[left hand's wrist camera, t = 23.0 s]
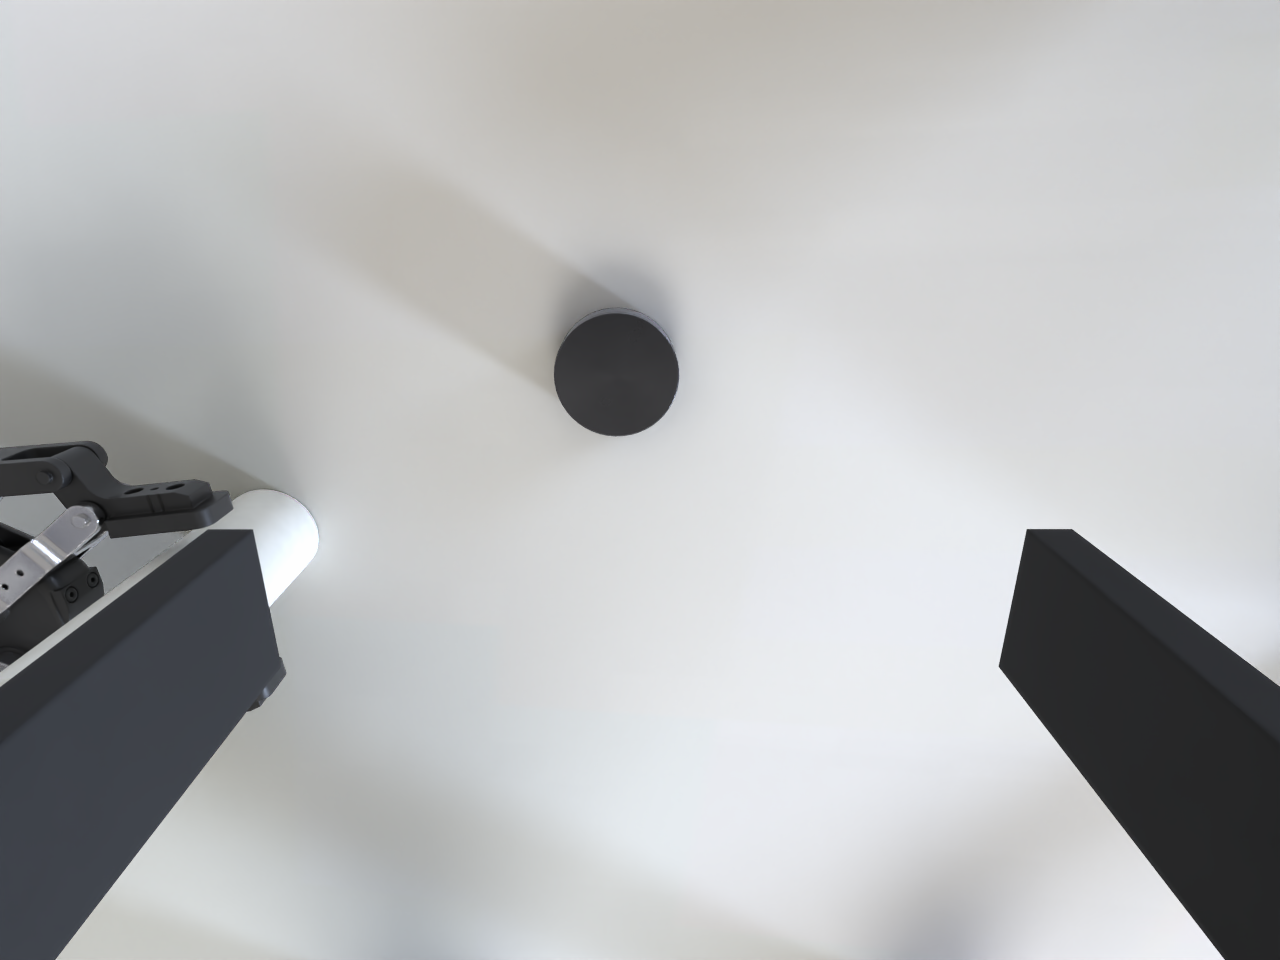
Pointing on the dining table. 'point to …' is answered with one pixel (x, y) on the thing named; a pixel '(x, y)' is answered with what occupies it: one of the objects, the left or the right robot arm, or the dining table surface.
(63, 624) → the right robot arm
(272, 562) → the cylinder
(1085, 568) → the left robot arm
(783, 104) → the dining table surface
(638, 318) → the lid
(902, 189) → the dining table surface
